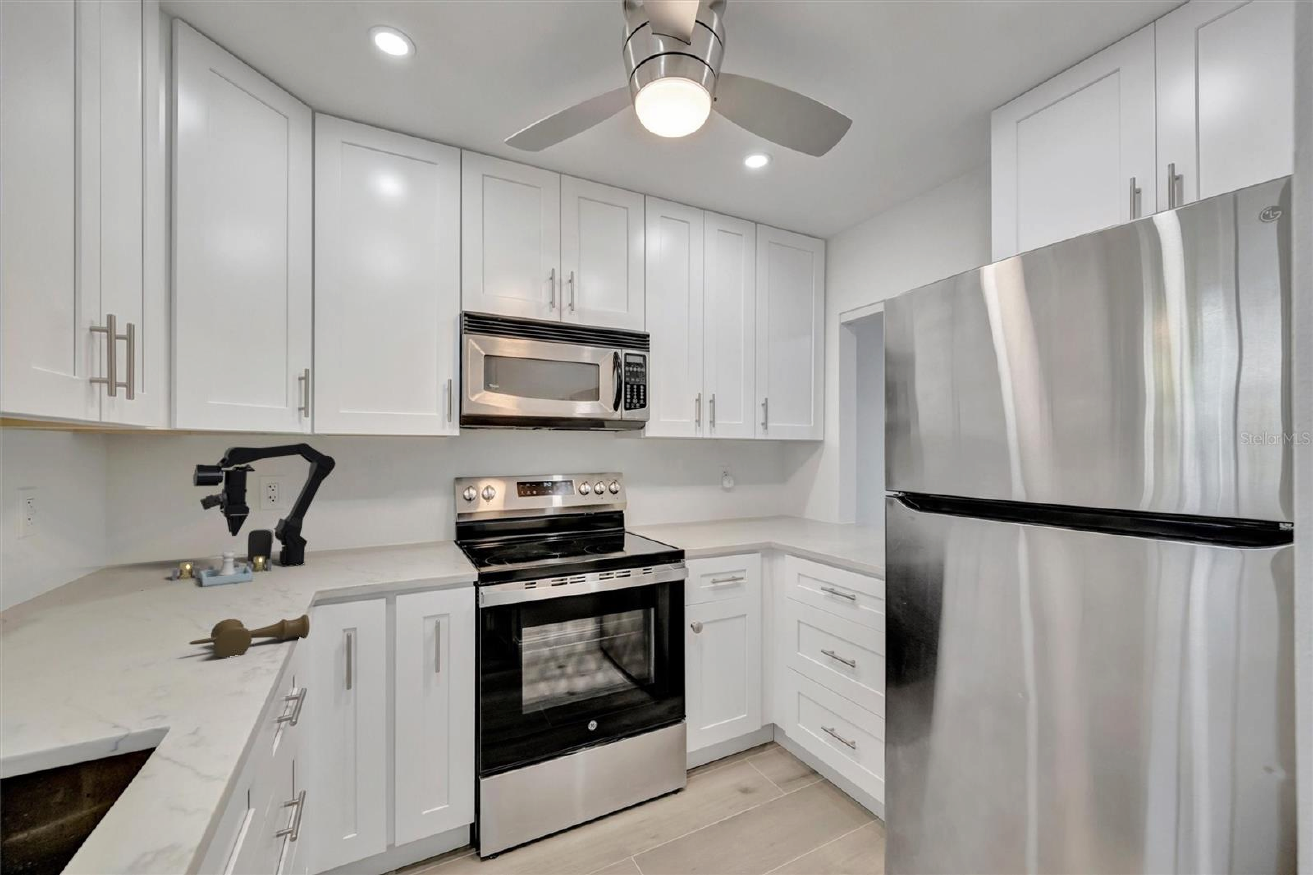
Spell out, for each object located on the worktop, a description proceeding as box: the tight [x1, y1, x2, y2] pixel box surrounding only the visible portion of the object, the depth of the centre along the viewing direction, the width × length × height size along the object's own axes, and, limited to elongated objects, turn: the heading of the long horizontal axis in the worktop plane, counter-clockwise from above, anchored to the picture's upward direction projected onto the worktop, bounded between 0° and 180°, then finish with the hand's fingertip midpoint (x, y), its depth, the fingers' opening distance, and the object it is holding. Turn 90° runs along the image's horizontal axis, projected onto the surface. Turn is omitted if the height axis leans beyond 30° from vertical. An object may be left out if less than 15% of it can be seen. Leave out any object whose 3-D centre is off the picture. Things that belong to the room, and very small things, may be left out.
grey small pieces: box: [171, 559, 273, 581], centre depth 171 cm, size 24×4×3 cm, turn 133°
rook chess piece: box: [218, 550, 236, 576], centre depth 163 cm, size 4×4×8 cm
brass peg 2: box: [252, 556, 266, 573], centre depth 177 cm, size 3×3×4 cm
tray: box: [200, 566, 254, 588], centre depth 163 cm, size 12×12×2 cm
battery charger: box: [246, 528, 274, 564], centre depth 189 cm, size 7×4×11 cm, turn 113°
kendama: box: [188, 614, 311, 659], centre depth 112 cm, size 6×10×20 cm
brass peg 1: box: [178, 561, 194, 580], centre depth 165 cm, size 3×3×4 cm
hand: (232, 534), depth 174 cm, fingers open, 9 cm apart
